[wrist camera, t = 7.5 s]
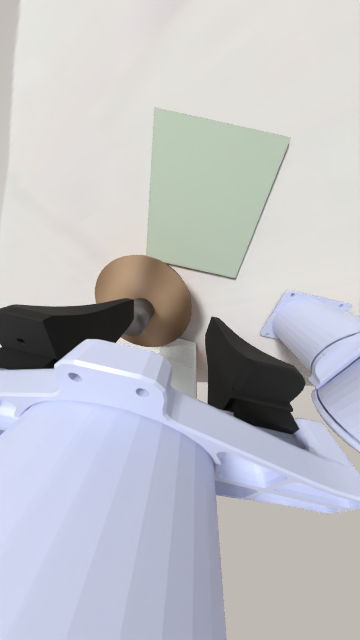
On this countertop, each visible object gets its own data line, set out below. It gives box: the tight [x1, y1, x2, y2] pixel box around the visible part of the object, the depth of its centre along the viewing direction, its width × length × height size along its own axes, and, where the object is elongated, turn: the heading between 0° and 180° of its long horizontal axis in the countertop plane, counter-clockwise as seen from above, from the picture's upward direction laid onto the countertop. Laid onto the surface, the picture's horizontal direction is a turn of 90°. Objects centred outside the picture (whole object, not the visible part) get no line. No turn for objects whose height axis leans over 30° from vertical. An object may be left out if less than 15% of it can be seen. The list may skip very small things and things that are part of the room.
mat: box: [146, 107, 291, 278], centre depth 16 cm, size 13×13×1 cm
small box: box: [159, 338, 197, 399], centre depth 22 cm, size 8×6×13 cm
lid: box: [95, 255, 191, 347], centre depth 17 cm, size 13×13×6 cm
